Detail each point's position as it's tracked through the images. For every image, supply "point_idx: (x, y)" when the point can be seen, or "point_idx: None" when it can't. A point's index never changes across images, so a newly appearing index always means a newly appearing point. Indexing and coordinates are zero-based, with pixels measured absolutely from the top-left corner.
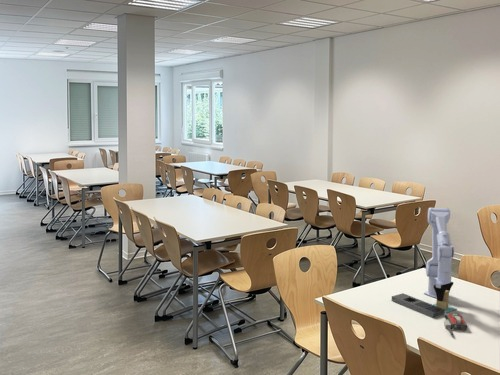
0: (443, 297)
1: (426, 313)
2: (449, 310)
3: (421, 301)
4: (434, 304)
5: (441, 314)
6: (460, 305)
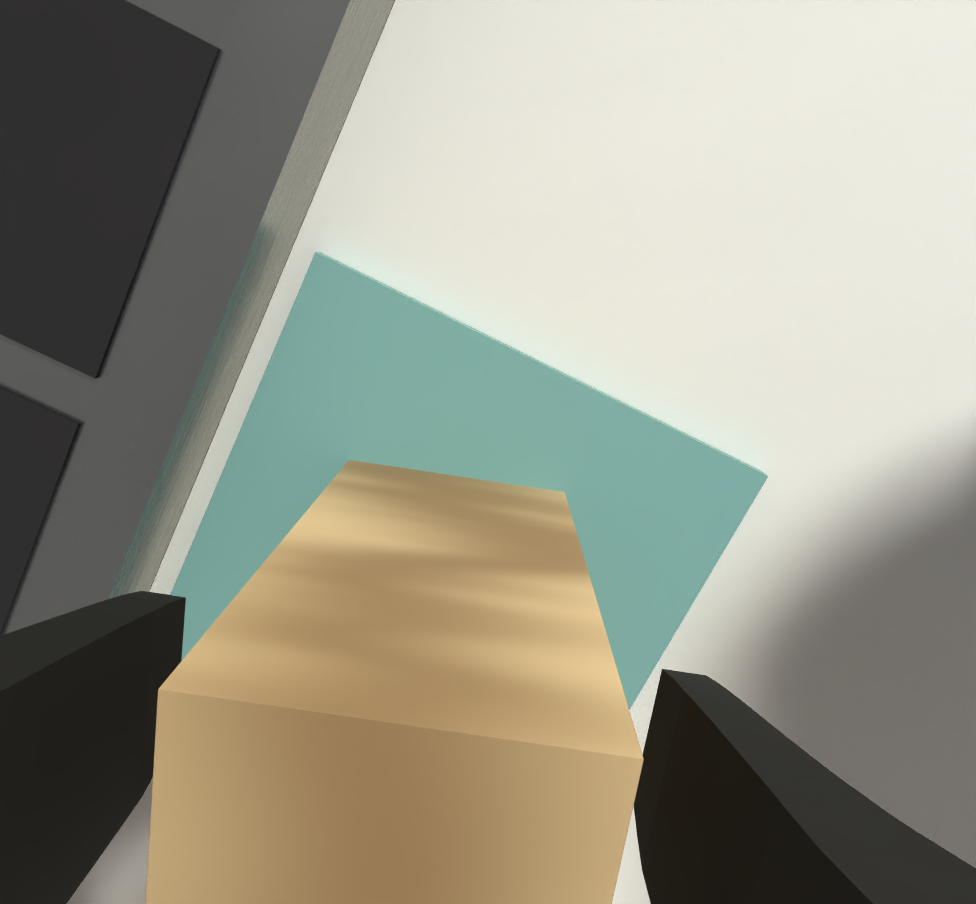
0: (89, 860)
1: None
2: None
3: (252, 34)
4: (534, 379)
5: None
6: None
